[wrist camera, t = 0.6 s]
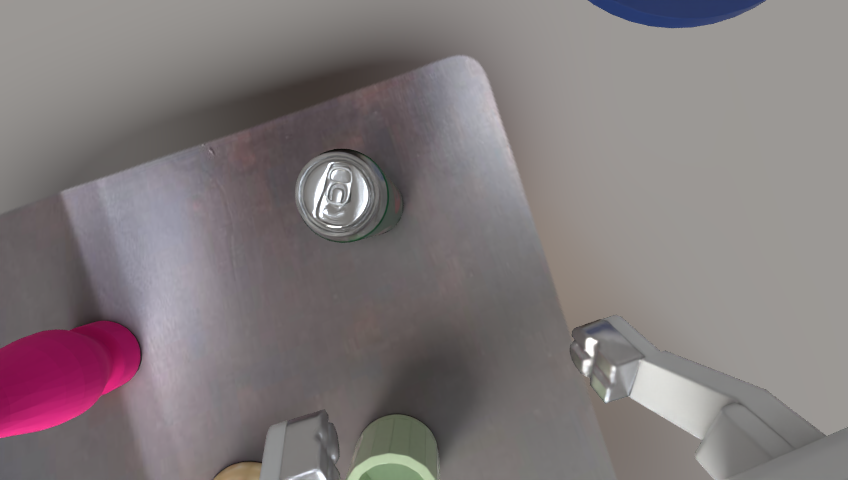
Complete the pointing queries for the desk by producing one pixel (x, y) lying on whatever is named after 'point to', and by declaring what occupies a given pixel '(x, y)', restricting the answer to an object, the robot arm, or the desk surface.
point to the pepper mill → (62, 374)
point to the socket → (395, 451)
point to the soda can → (347, 197)
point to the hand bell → (241, 471)
